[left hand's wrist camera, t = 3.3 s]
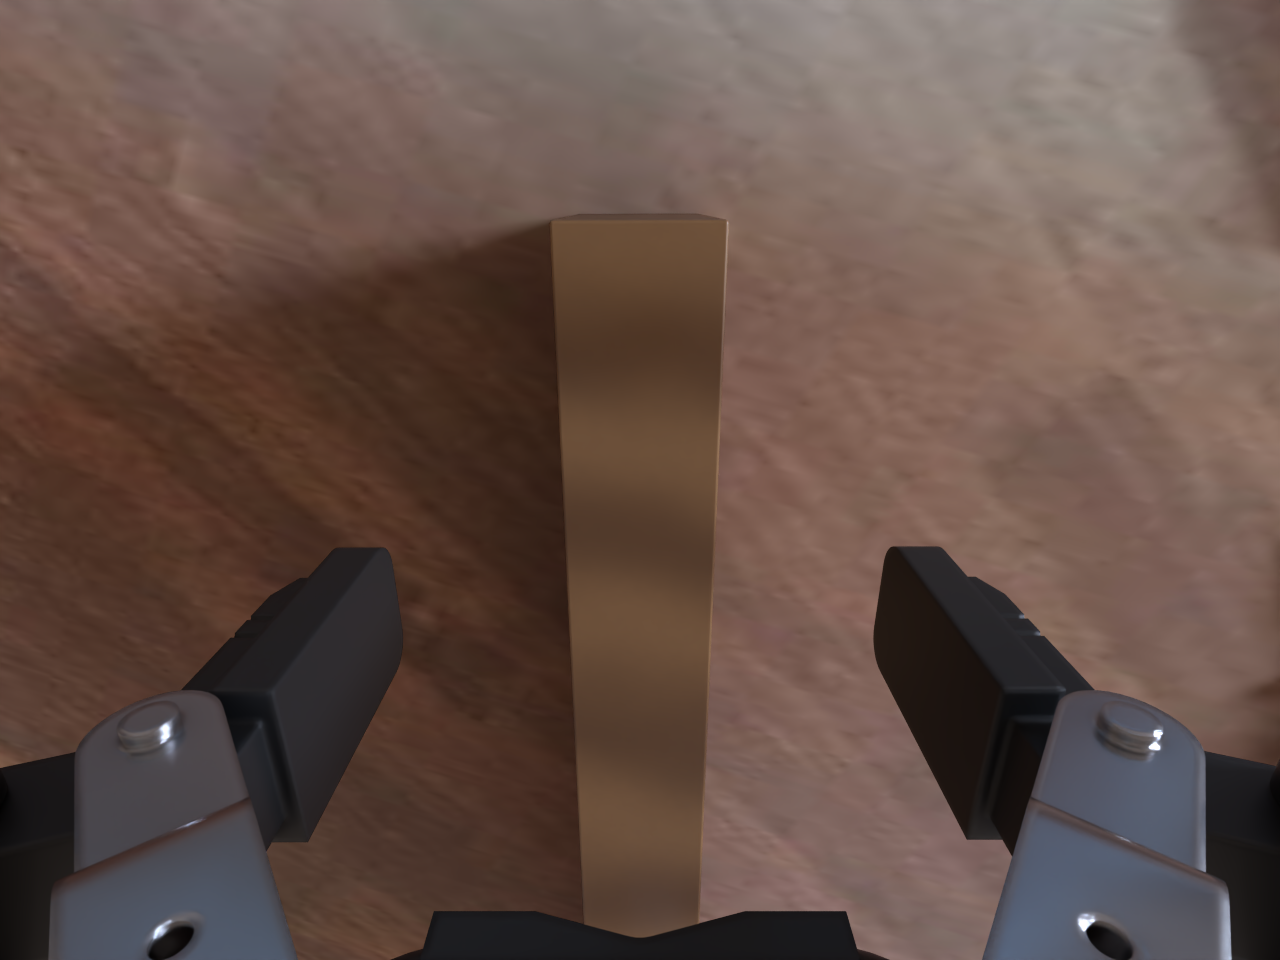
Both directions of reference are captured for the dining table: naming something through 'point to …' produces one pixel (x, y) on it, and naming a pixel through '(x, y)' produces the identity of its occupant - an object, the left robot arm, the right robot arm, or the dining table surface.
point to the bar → (640, 546)
